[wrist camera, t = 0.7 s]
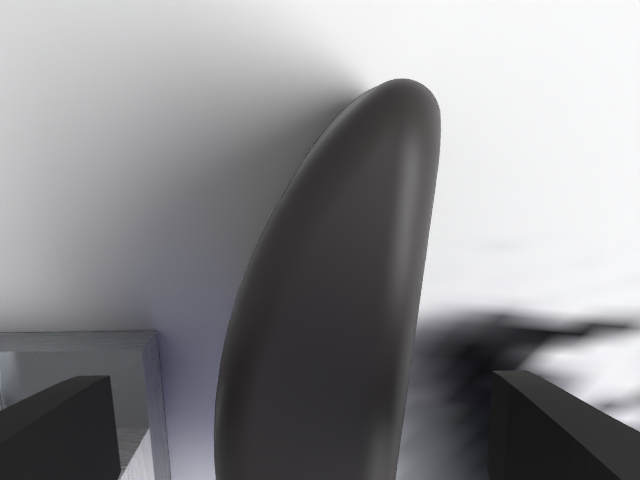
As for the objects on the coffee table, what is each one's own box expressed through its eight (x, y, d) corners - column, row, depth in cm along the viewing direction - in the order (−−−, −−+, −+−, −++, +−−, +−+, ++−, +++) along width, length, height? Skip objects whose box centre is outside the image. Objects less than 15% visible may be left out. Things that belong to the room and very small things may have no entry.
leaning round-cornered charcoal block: (274, 79, 16) (225, 57, 9) (404, 92, 16) (463, 79, 9) (246, 482, 19) (191, 718, 12) (356, 492, 19) (370, 735, 12)
